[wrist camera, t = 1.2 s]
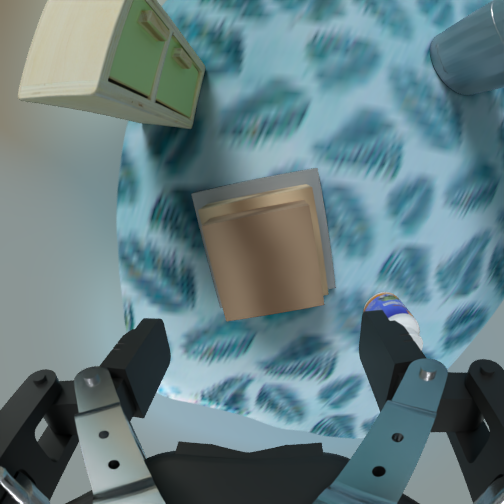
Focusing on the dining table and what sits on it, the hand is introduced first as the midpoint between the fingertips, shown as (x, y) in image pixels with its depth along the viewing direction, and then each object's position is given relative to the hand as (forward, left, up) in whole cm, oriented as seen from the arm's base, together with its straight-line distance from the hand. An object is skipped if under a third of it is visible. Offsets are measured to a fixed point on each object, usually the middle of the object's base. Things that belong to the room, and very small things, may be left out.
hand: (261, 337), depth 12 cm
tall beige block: (+7, -17, -24) cm, 30 cm away
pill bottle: (-12, +14, -24) cm, 31 cm away
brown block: (0, +2, -23) cm, 23 cm away
